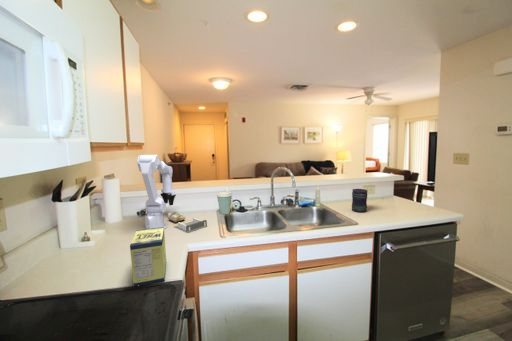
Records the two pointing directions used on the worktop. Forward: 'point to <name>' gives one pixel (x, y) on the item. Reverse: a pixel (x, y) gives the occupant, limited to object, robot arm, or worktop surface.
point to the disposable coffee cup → (224, 201)
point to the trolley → (175, 216)
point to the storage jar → (359, 200)
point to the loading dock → (191, 225)
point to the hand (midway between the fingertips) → (168, 204)
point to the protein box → (148, 256)
